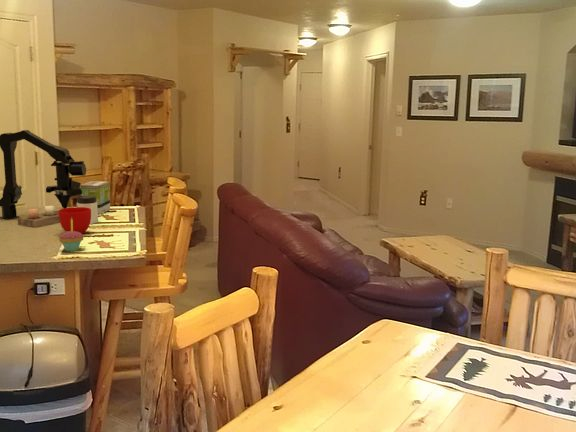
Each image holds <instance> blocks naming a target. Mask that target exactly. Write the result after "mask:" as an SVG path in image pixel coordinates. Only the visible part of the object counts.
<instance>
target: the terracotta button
mask: <svg viewBox="0 0 576 432" xmlns="http://www.w3.org/2000/svg"><path fill="white" fill-rule="evenodd" d="M27 211H28V216H29V219H37V218H39V214H40V213H39V208H33V207H32V208H28V210H27Z"/></svg>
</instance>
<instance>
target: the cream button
mask: <svg viewBox="0 0 576 432" xmlns="http://www.w3.org/2000/svg"><path fill="white" fill-rule="evenodd" d="M55 211H56V210H55V206H54V205H45V206H44V213H45V215H46V216H52V215H55Z"/></svg>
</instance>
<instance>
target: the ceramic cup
mask: <svg viewBox="0 0 576 432" xmlns="http://www.w3.org/2000/svg"><path fill="white" fill-rule="evenodd" d="M58 210H59V211H58ZM58 210H57V211H58V215H59V220H60V223H59V224H60V226H61V228H62V229H63V230H64V232H66V231H71V218H72V220H73V231H77V232H79V233H81V234H82V235H83V234H85V232H86V231H87V230H88V229H89V227H90V225H91V224H90V221H91V209H90V208H85V207H77V206H76V207H75V206H74V207H67V208H64V209H61V208H60V209H58Z"/></svg>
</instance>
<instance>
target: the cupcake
mask: <svg viewBox="0 0 576 432" xmlns="http://www.w3.org/2000/svg"><path fill="white" fill-rule="evenodd" d="M58 239H59V242H60V243H61V244H62V246H63V248H64V250H65V251H66V252H75V251H79V249H80V244H81V243H82V241H84V235H83V234H81V233H79V232H77V231H73V220H72V218H71V231H64V232H63V233H62V234H60V236H59V237H58Z"/></svg>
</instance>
